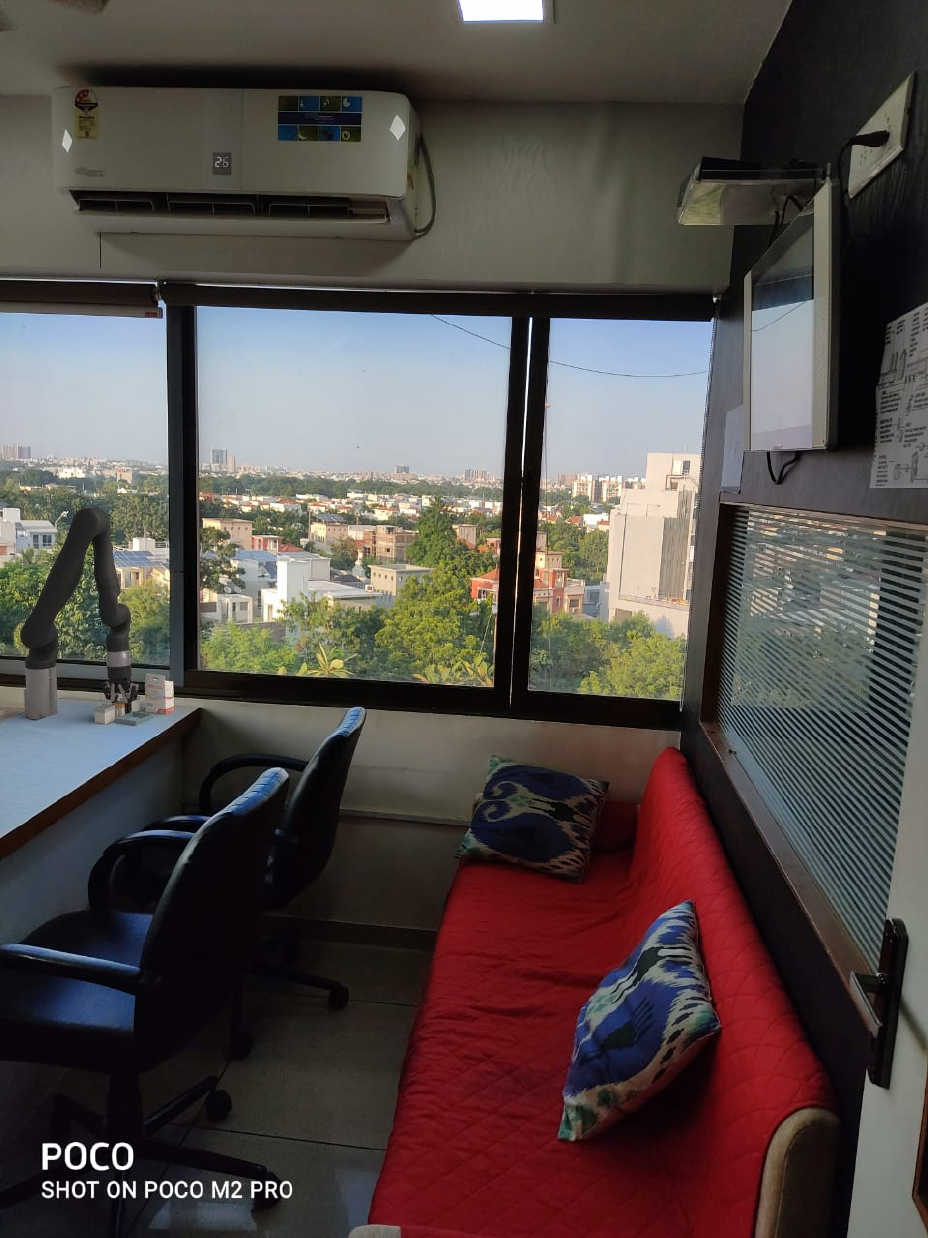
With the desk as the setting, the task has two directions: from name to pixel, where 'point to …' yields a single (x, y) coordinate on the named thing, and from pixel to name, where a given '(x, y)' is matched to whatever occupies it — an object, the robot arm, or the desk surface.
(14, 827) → the desk surface
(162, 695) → the ink cartridge box
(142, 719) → the tray
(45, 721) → the desk surface
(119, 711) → the block
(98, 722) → the board
